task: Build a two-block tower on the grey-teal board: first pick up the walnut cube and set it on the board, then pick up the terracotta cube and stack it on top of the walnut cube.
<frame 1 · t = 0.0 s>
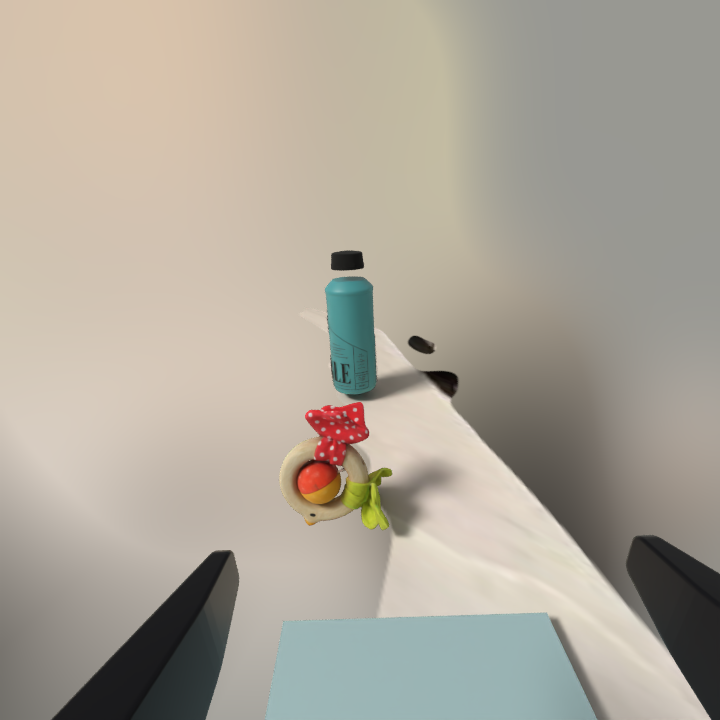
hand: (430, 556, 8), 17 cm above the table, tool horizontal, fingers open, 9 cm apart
beverage bottle: (355, 395, 52), on the table
bird rattle: (340, 519, 31), on the table
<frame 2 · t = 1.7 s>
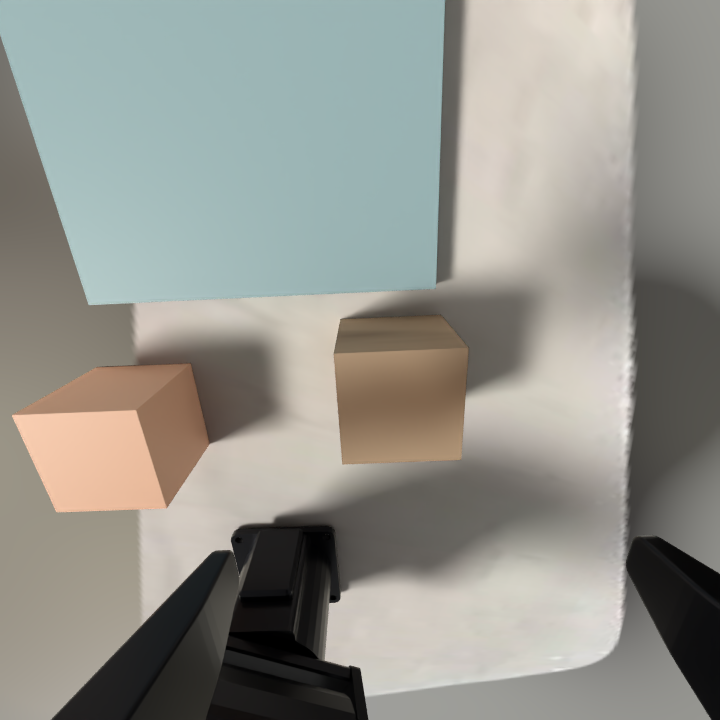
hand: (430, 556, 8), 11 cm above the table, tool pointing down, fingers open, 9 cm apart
walnut cube: (391, 362, 19), on the table
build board: (238, 94, 14), on the table
terracotta cube: (156, 406, 20), on the table
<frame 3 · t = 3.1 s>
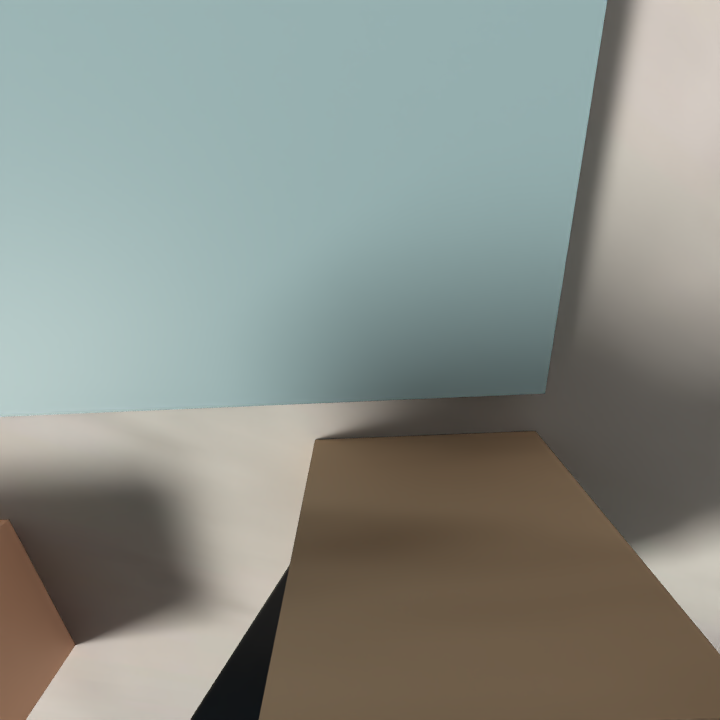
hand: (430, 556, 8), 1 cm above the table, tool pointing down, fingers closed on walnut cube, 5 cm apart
walnut cube: (422, 519, 9), on the table, touching gripper
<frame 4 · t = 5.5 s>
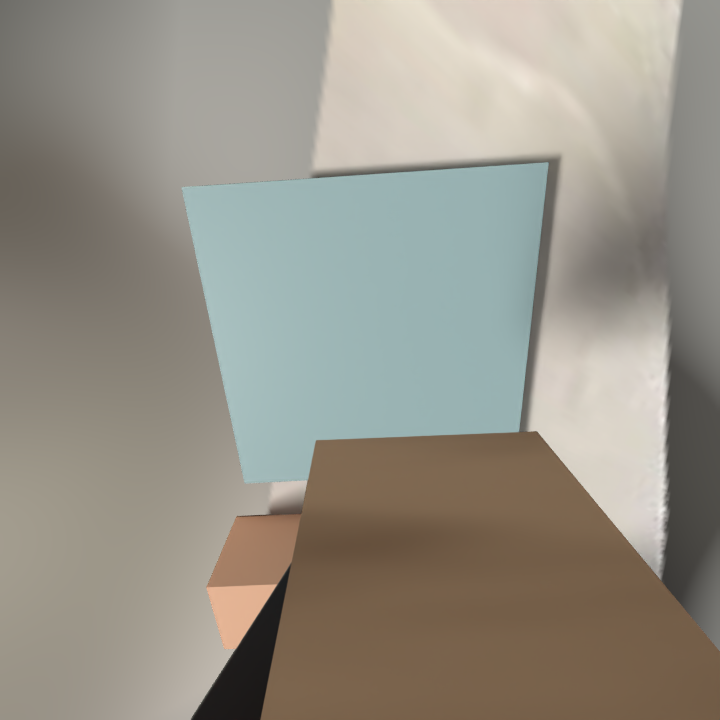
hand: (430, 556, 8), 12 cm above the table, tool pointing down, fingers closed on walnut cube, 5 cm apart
walnut cube: (423, 520, 9), point 11 cm above the table, touching gripper
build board: (371, 342, 19), on the table
terracotta cube: (279, 542, 25), on the table
when the fingers open (3 cm above the table, at t = 7.7 s): walnut cube stays where it is, resting on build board.
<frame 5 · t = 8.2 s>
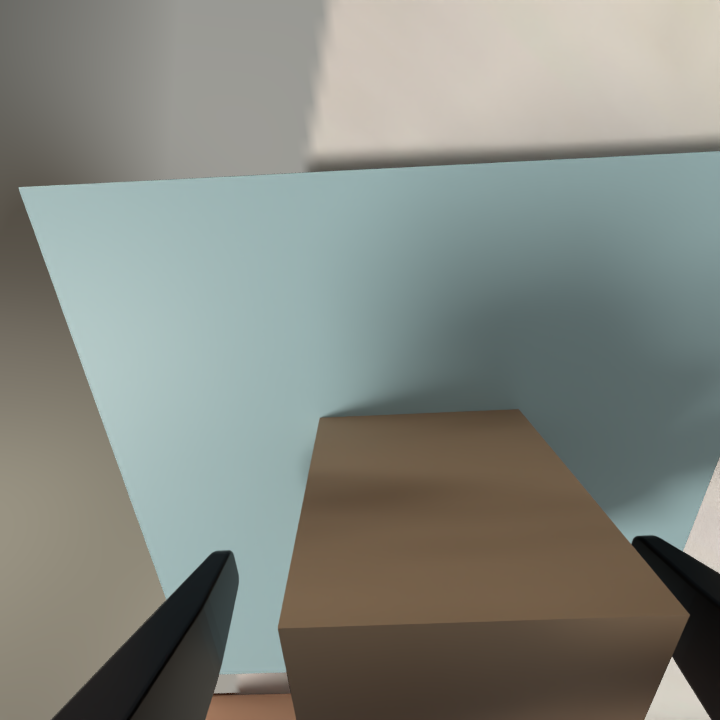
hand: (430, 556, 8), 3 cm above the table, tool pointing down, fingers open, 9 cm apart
walnut cube: (417, 492, 10), point 1 cm above the table, touching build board
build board: (412, 468, 11), on the table
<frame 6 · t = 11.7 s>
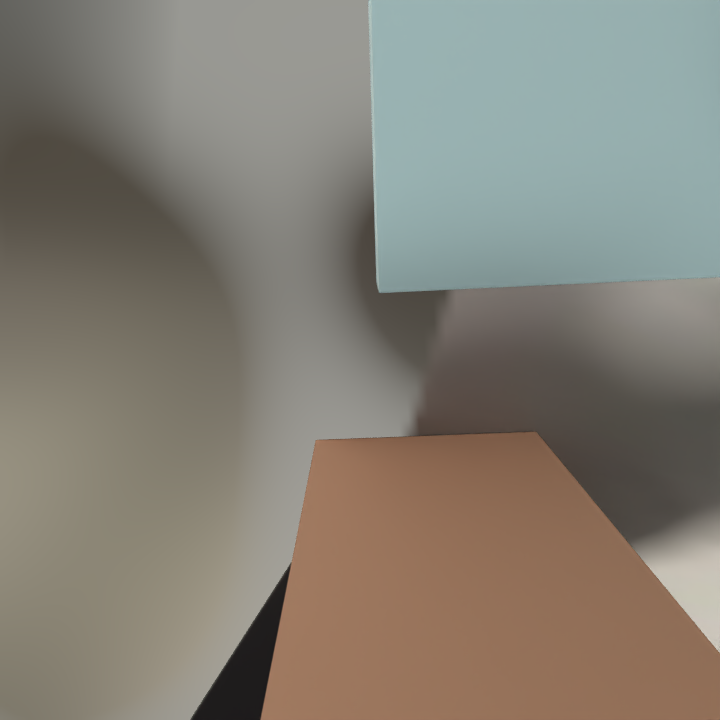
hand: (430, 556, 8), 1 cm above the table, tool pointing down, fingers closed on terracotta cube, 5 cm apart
terracotta cube: (423, 520, 9), on the table, touching gripper
when the fingers open (8 cm above the table, at t = 15.4 s): terracotta cube stays where it is, resting on walnut cube.
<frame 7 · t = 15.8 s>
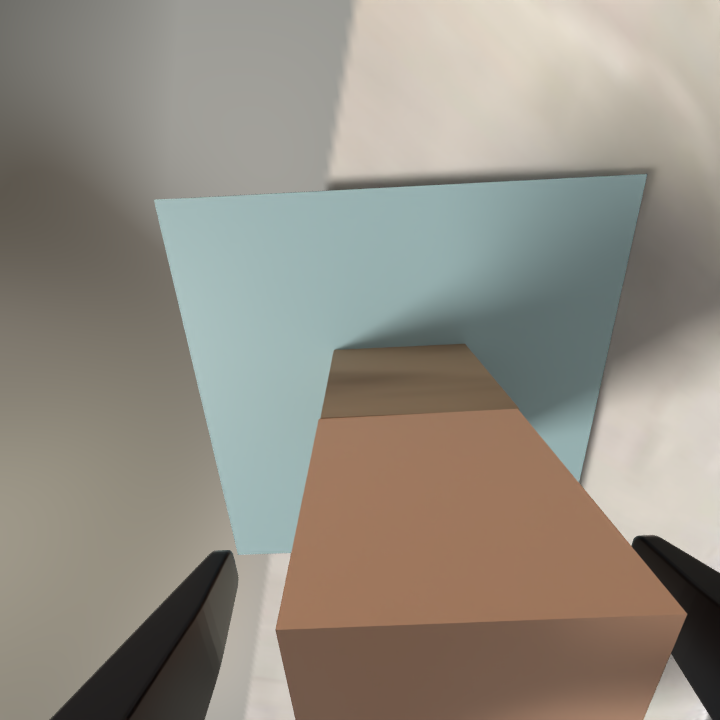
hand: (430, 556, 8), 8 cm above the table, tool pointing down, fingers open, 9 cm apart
walnut cube: (399, 404, 15), point 1 cm above the table, touching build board, terracotta cube
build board: (397, 393, 16), on the table
terracotta cube: (417, 492, 10), point 6 cm above the table, touching walnut cube
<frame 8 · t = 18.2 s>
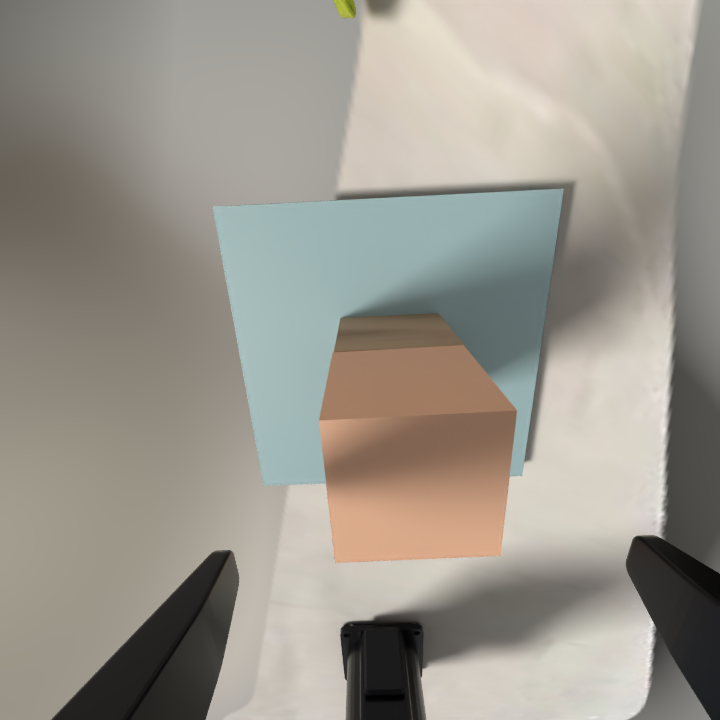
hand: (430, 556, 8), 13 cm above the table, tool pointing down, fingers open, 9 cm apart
walnut cube: (390, 360, 19), point 1 cm above the table, touching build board, terracotta cube
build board: (388, 354, 20), on the table
terracotta cube: (399, 406, 15), point 6 cm above the table, touching walnut cube
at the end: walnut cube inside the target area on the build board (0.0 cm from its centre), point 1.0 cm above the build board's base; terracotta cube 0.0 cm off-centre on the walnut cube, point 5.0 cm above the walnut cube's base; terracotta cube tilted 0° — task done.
